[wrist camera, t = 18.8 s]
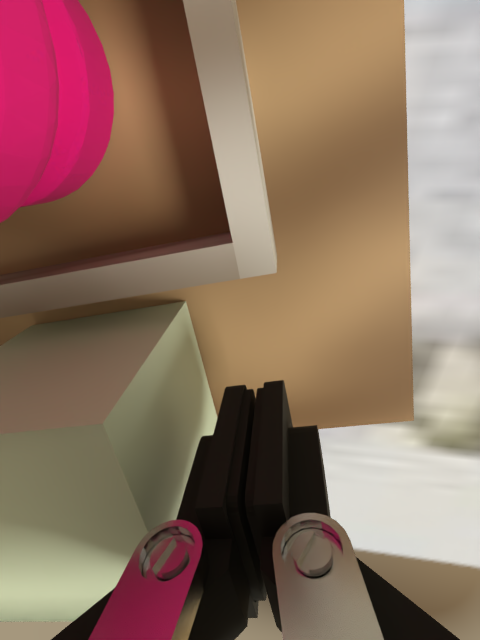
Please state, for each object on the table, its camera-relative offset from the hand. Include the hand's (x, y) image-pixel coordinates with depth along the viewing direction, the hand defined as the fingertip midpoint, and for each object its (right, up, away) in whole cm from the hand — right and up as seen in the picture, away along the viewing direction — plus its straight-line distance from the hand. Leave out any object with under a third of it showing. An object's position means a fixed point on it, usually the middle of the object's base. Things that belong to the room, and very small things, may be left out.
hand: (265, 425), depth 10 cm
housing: (-5, 0, +4) cm, 6 cm away
